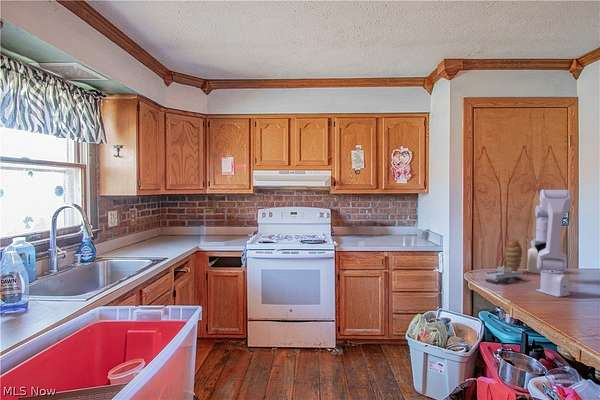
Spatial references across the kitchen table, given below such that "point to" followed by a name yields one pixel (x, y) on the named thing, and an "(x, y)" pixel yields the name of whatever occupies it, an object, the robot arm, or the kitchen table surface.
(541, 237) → the robot arm
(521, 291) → the kitchen table surface
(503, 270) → the block
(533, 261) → the pill bottle
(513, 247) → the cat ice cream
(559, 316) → the kitchen table surface
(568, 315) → the kitchen table surface
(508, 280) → the stand
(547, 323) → the kitchen table surface
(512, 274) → the beam
